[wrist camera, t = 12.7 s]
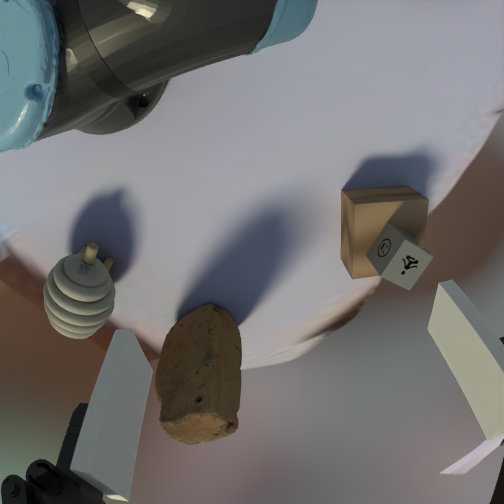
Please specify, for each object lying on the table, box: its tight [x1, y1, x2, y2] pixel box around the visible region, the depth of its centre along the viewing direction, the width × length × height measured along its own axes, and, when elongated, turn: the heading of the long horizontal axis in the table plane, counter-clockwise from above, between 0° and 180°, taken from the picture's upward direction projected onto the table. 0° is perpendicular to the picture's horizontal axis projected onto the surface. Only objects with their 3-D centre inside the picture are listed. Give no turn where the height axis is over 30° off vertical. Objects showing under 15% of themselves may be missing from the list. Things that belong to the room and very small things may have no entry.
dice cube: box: [366, 221, 433, 290], centre depth 35 cm, size 5×5×5 cm
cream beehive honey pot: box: [43, 243, 115, 339], centre depth 40 cm, size 11×17×11 cm, turn 155°
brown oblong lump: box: [155, 304, 242, 445], centre depth 41 cm, size 11×8×20 cm
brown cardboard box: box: [341, 186, 429, 279], centre depth 40 cm, size 10×10×6 cm
